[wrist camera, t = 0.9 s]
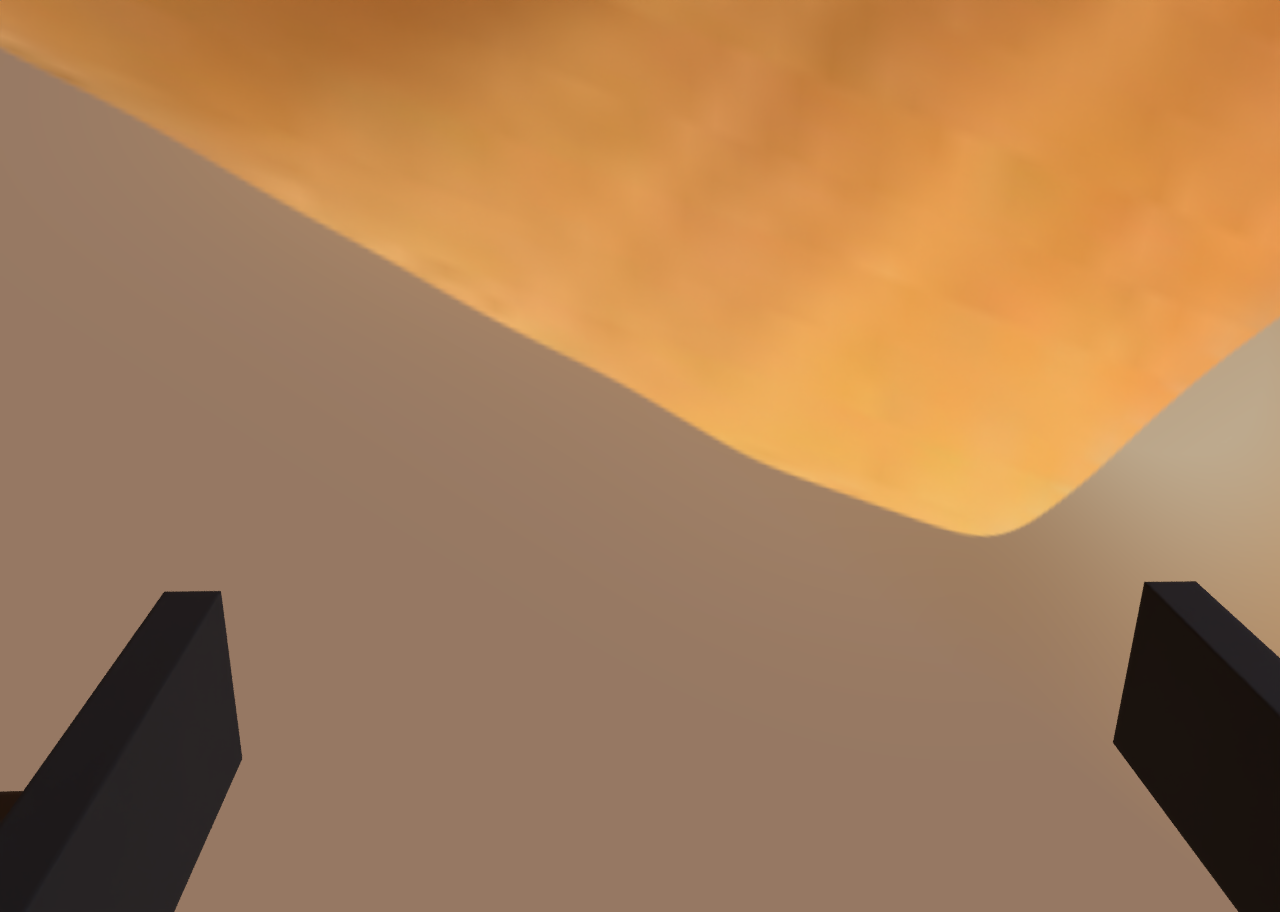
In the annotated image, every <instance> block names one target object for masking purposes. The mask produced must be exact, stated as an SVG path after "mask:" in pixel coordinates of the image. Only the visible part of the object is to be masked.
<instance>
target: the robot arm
mask: <svg viewBox="0 0 1280 912" xmlns="http://www.w3.org/2000/svg"><path fill="white" fill-rule="evenodd" d="M1113 743H1114V745H1115V746H1116V747H1117V749H1118V750H1119V751H1120V753H1121V754H1122V755H1123V757H1124V758H1125V759H1126V761H1127V762H1128V763H1129V765H1130V766H1131V768H1132V769H1133V770H1134V771H1135V773H1136V774H1137V776H1138V777H1139V778H1140V780H1141V781H1142V782H1143V784H1144V785H1145V786H1146V788H1147V789H1148V790H1149V792H1150V793H1151V795H1152V796H1153V797H1154V798H1155V800H1156V801H1157V803H1158V804H1159V805H1160V807H1161V808H1162V809H1163V811H1164V812H1165V813H1166V815H1167V816H1168V817H1169V819H1170V820H1171V821H1172V823H1173V824H1174V826H1175V827H1176V828H1177V829H1178V831H1179V832H1180V834H1181V835H1182V836H1183V838H1184V839H1185V840H1186V841H1187V843H1188V844H1189V846H1190V847H1191V848H1192V850H1193V851H1194V852H1195V854H1196V855H1197V857H1198V858H1199V859H1200V861H1201V862H1202V863H1203V865H1204V866H1205V867H1206V869H1207V870H1208V871H1209V873H1210V874H1211V875H1212V877H1213V878H1214V879H1215V881H1216V882H1217V884H1218V885H1219V886H1220V887H1221V889H1222V890H1223V892H1224V893H1225V894H1226V896H1227V897H1228V898H1229V900H1230V901H1231V902H1232V904H1233V905H1234V906H1235V908H1236V909H1237V910H1238V912H1280V658H1279V657H1278V656H1277V655H1276V654H1275V653H1274V652H1273V651H1272V650H1270V649H1269V648H1268V647H1267V646H1266V645H1265V644H1264V643H1263V642H1262V641H1261V640H1259V639H1258V638H1257V637H1256V636H1255V635H1254V634H1253V633H1252V632H1251V631H1250V630H1248V629H1247V628H1246V627H1245V626H1244V625H1243V624H1242V623H1241V622H1240V621H1239V620H1237V619H1236V618H1235V617H1234V616H1233V615H1232V614H1231V613H1230V612H1229V611H1228V610H1226V609H1225V608H1224V607H1223V606H1222V605H1221V604H1220V603H1219V602H1218V601H1217V600H1216V599H1214V598H1213V597H1212V596H1211V595H1210V594H1209V593H1208V592H1207V591H1206V590H1205V589H1203V588H1202V587H1201V586H1200V585H1199V584H1198V583H1197V582H1195V581H1191V582H1144V587H1143V592H1142V597H1141V602H1140V607H1139V613H1138V617H1137V623H1136V628H1135V633H1134V638H1133V643H1132V648H1131V653H1130V658H1129V663H1128V669H1127V674H1126V679H1125V684H1124V689H1123V694H1122V699H1121V704H1120V709H1119V715H1118V720H1117V725H1116V730H1115V735H1114V740H1113ZM241 760H242V753H241V745H240V737H239V729H238V721H237V714H236V706H235V698H234V690H233V683H232V675H231V667H230V659H229V651H228V643H227V635H226V628H225V619H224V612H223V604H222V596H221V591H195V592H194V591H190V592H164V593H163V594H162V596H161V597H160V599H159V600H158V601H157V603H156V604H155V606H154V607H153V608H152V610H151V611H150V613H149V614H148V616H147V617H146V619H145V620H144V621H143V623H142V624H141V626H140V627H139V628H138V630H137V631H136V633H135V634H134V635H133V637H132V638H131V640H130V641H129V642H128V644H127V645H126V647H125V648H124V649H123V651H122V652H121V654H120V655H119V657H118V658H117V660H116V661H115V662H114V664H113V665H112V667H111V668H110V669H109V671H108V672H107V674H106V675H105V676H104V678H103V679H102V681H101V682H100V683H99V685H98V686H97V688H96V689H95V691H94V692H93V693H92V695H91V696H90V698H89V699H88V700H87V702H86V704H85V705H84V706H83V708H82V709H81V710H80V712H79V713H78V715H77V716H76V717H75V719H74V720H73V722H72V723H71V724H70V726H69V727H68V729H67V730H66V732H65V733H64V735H63V736H62V737H61V739H60V740H59V741H58V743H57V744H56V746H55V747H54V749H53V750H52V751H51V753H50V754H49V756H48V757H47V758H46V760H45V761H44V763H43V764H42V765H41V767H40V768H39V770H38V771H37V773H36V774H35V776H34V777H33V778H32V780H31V781H30V782H29V784H28V785H27V787H26V788H25V790H24V791H10V792H0V912H174V911H175V909H176V906H177V904H178V902H179V900H180V897H181V895H182V893H183V891H184V888H185V886H186V884H187V882H188V879H189V877H190V875H191V873H192V870H193V868H194V866H195V863H196V861H197V859H198V857H199V855H200V852H201V850H202V848H203V845H204V843H205V841H206V839H207V836H208V834H209V832H210V830H211V828H212V825H213V823H214V820H215V819H216V816H217V814H218V812H219V810H220V807H221V805H222V803H223V801H224V798H225V796H226V794H227V791H228V789H229V787H230V785H231V782H232V780H233V778H234V776H235V774H236V771H237V769H238V767H239V765H240V762H241Z"/></svg>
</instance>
